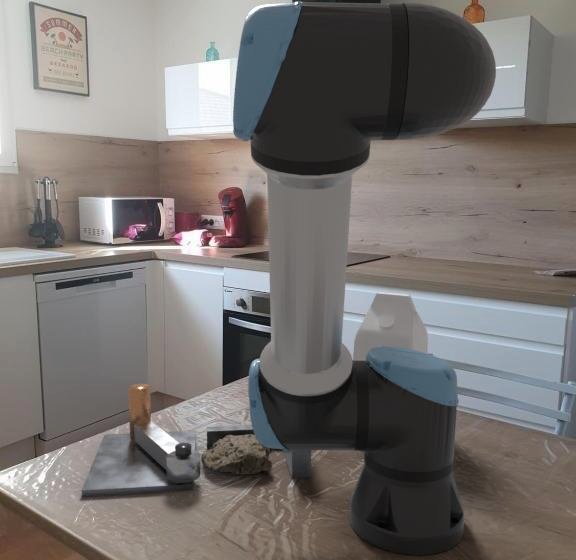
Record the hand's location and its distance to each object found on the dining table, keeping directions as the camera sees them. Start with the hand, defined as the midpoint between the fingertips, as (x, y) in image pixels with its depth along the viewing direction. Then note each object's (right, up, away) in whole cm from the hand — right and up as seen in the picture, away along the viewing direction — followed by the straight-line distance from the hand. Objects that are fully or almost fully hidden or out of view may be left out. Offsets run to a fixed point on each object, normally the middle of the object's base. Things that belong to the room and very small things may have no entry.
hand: (308, 291), depth 106 cm
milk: (+15, -26, +4) cm, 31 cm away
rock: (-12, -28, -10) cm, 32 cm away
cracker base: (-18, -28, -8) cm, 34 cm away
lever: (-24, -26, -10) cm, 37 cm away
